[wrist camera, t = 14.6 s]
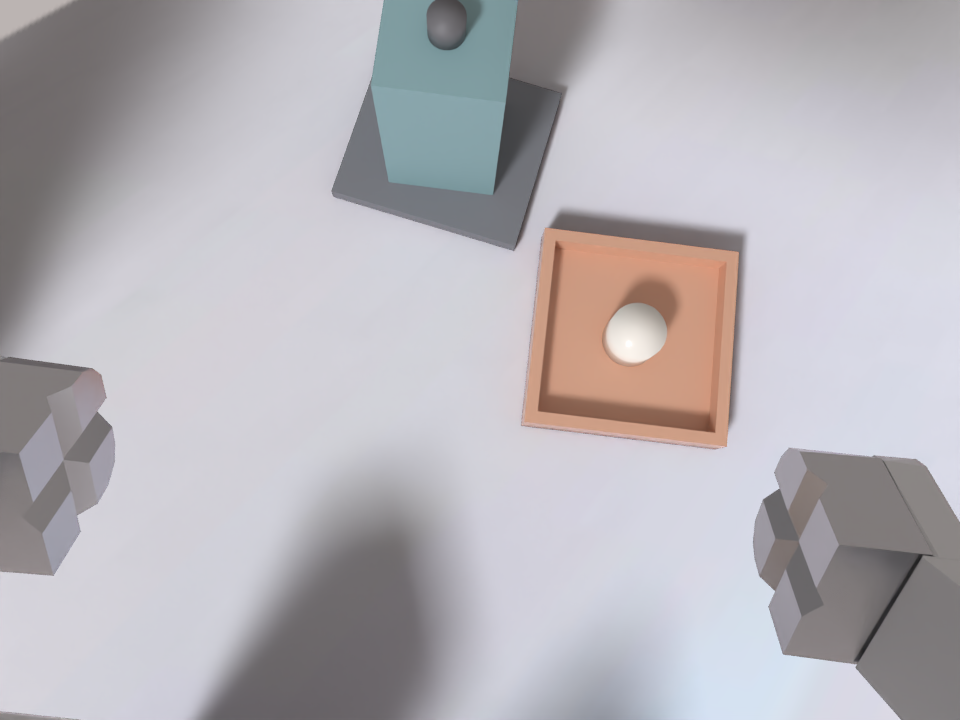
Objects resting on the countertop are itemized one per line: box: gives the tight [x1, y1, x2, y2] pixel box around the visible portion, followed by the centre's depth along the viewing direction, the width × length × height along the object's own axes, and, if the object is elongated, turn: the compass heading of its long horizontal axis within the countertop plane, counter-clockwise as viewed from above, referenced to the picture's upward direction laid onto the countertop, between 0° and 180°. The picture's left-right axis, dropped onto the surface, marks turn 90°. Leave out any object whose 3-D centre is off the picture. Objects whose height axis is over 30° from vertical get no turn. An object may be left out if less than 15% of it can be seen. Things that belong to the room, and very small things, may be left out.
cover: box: [371, 0, 518, 195], centre depth 38 cm, size 6×6×11 cm
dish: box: [521, 228, 739, 449], centre depth 42 cm, size 10×10×3 cm
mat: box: [332, 78, 562, 251], centre depth 44 cm, size 10×9×1 cm
